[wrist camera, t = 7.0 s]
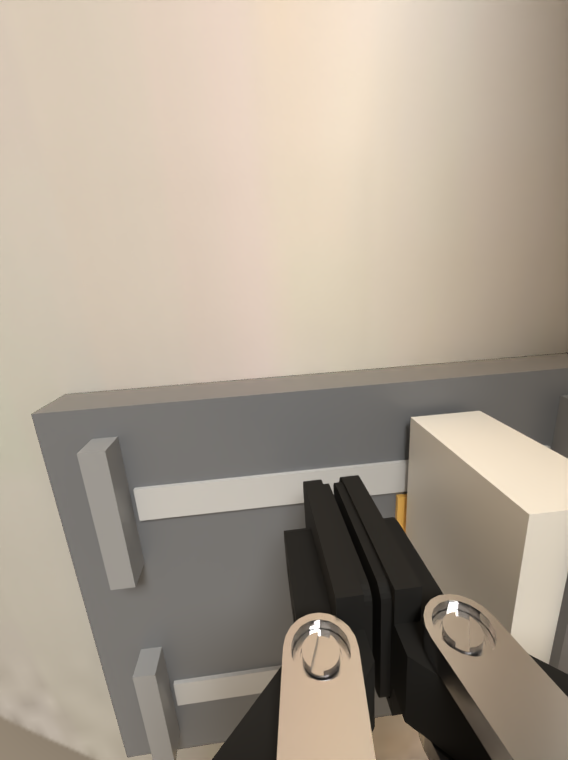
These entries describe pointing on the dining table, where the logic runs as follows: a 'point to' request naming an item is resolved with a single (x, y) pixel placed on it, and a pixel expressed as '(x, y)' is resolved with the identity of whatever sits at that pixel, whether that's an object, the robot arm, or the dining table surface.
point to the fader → (493, 524)
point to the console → (238, 515)
